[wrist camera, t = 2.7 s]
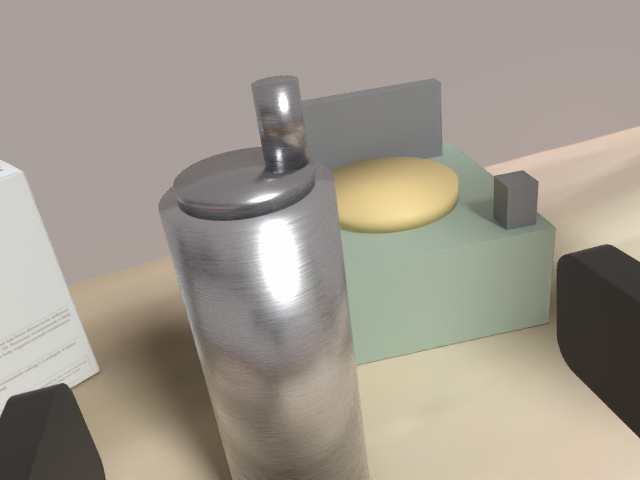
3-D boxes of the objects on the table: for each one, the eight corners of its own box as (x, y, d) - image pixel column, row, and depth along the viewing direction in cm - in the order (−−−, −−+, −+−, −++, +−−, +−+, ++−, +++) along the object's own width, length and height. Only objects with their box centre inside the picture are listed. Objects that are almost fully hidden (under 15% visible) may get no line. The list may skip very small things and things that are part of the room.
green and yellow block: (301, 376, 32) (268, 187, 27) (272, 253, 44) (245, 107, 39) (548, 323, 34) (562, 133, 28) (453, 217, 46) (451, 72, 41)
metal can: (244, 564, 23) (121, 133, 15) (235, 453, 28) (139, 84, 20) (385, 529, 24) (340, 96, 16) (352, 426, 29) (305, 57, 20)
